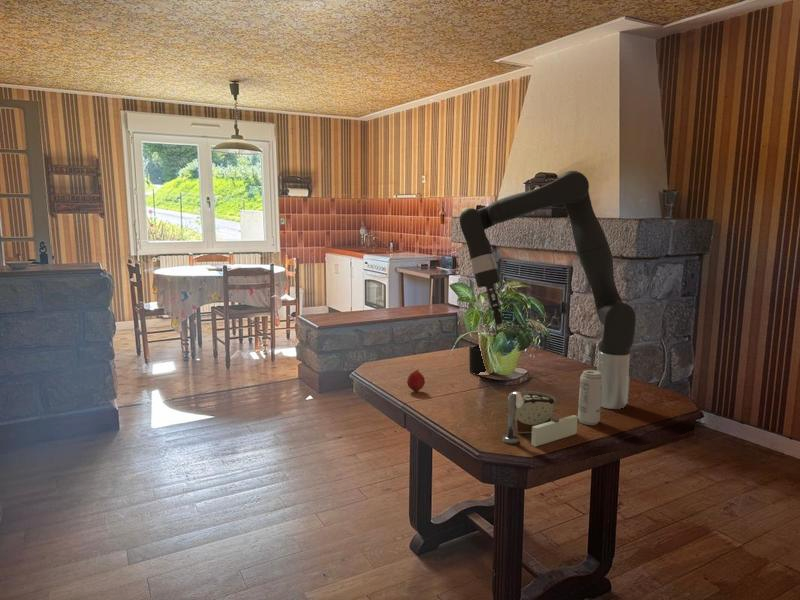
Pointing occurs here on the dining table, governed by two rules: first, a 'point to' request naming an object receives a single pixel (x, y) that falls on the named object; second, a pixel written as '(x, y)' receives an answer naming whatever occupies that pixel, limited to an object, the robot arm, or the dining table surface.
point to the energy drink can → (590, 397)
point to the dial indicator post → (514, 403)
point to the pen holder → (476, 360)
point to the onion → (416, 381)
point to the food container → (534, 411)
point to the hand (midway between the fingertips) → (499, 323)
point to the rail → (554, 430)
